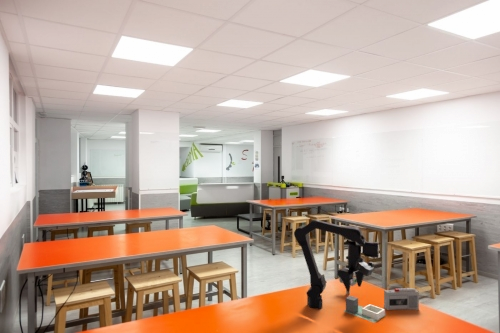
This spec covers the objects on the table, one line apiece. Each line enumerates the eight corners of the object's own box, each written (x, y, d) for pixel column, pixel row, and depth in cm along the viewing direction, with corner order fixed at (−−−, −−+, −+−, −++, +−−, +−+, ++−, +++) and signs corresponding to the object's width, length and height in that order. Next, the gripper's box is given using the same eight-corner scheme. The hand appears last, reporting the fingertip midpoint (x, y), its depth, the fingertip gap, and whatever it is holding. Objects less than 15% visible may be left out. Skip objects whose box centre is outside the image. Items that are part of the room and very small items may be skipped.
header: (361, 314, 146) (361, 308, 146) (369, 309, 151) (369, 304, 151) (377, 319, 140) (377, 314, 140) (385, 315, 145) (385, 309, 145)
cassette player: (386, 311, 151) (386, 290, 151) (384, 309, 153) (384, 288, 153) (418, 310, 152) (418, 289, 152) (415, 308, 154) (415, 287, 154)
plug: (344, 310, 150) (344, 297, 150) (349, 307, 152) (349, 295, 152) (353, 313, 146) (353, 300, 146) (358, 311, 149) (358, 298, 149)
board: (343, 312, 149) (343, 310, 149) (355, 306, 156) (355, 303, 156) (374, 324, 138) (374, 322, 138) (386, 316, 145) (386, 314, 145)
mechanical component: (340, 292, 174) (340, 273, 174) (358, 297, 166) (358, 278, 166) (337, 293, 172) (337, 274, 172) (355, 299, 164) (355, 279, 164)
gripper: (359, 263, 135) (358, 300, 135) (381, 255, 147) (380, 289, 147) (336, 256, 143) (336, 291, 143) (359, 250, 155) (358, 282, 155)
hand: (353, 288), depth 147 cm, fingers open, 9 cm apart
